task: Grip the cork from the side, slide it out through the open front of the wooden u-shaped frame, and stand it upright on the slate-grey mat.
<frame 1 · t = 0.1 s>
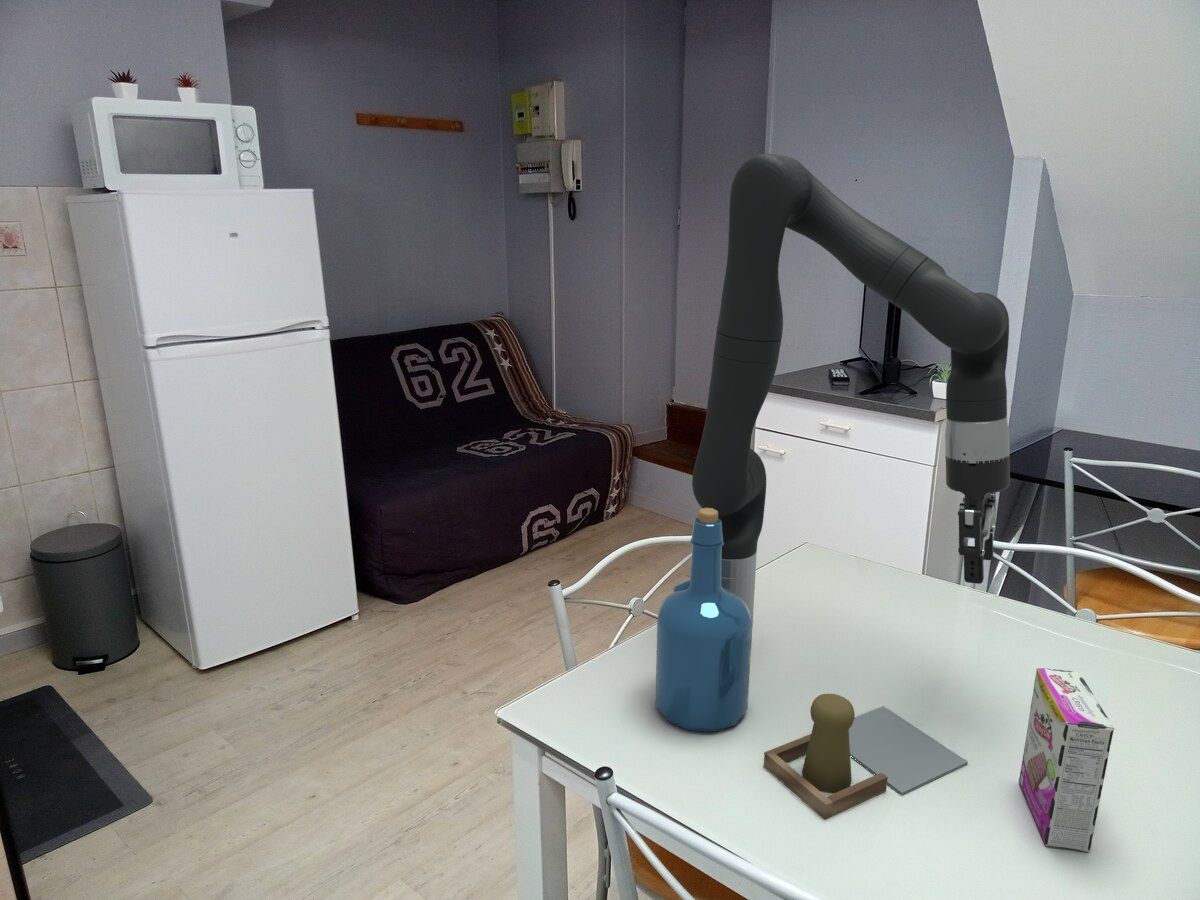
hand: (979, 570, 109), 22 cm above the table, tool pointing down, fingers open, 8 cm apart
cork: (826, 778, 103), on the table
candy bar box: (1050, 818, 97), on the table
wooden u-shaped frame: (826, 776, 103), on the table
slate mat: (891, 748, 109), on the table
wine bottle: (700, 708, 118), on the table
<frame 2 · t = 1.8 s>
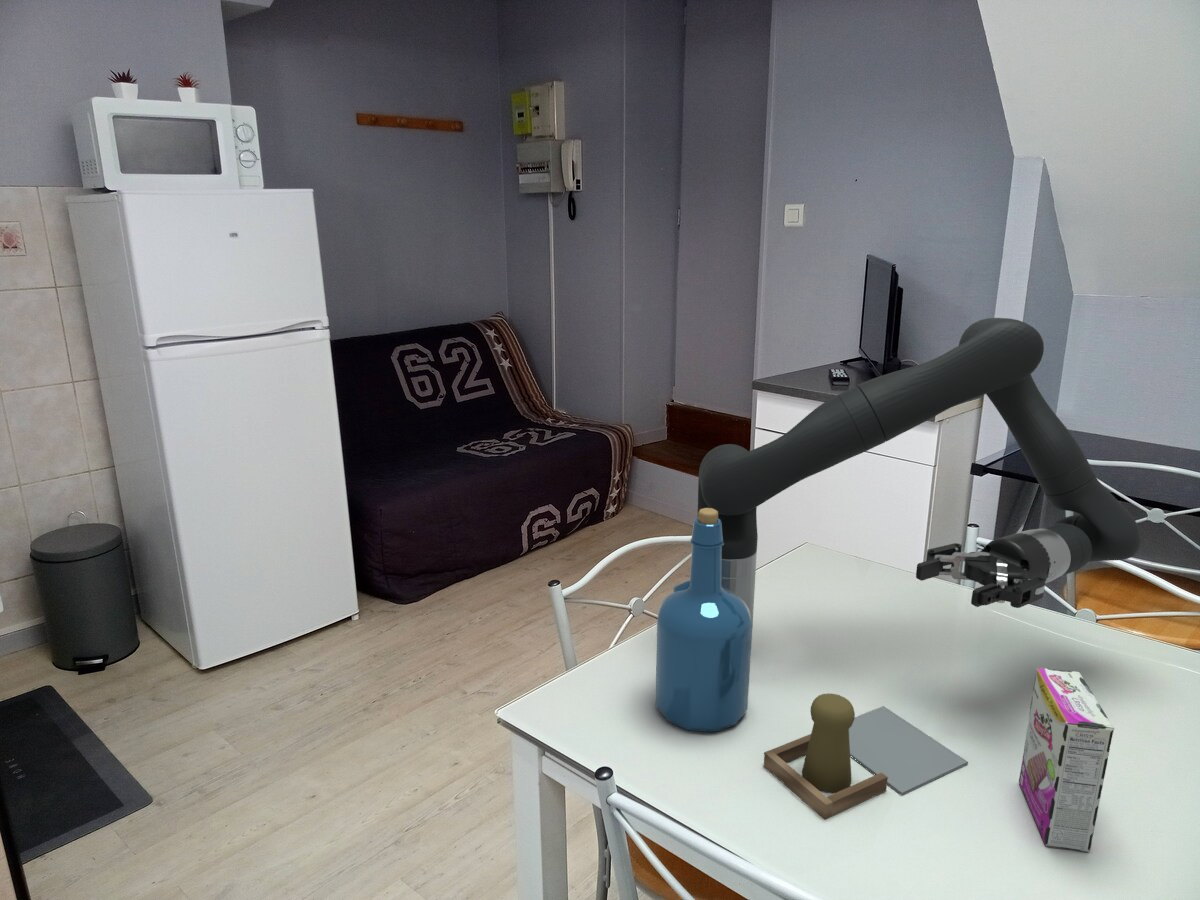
hand: (945, 585, 105), 22 cm above the table, tool horizontal, fingers open, 8 cm apart
nothing on the table moved.
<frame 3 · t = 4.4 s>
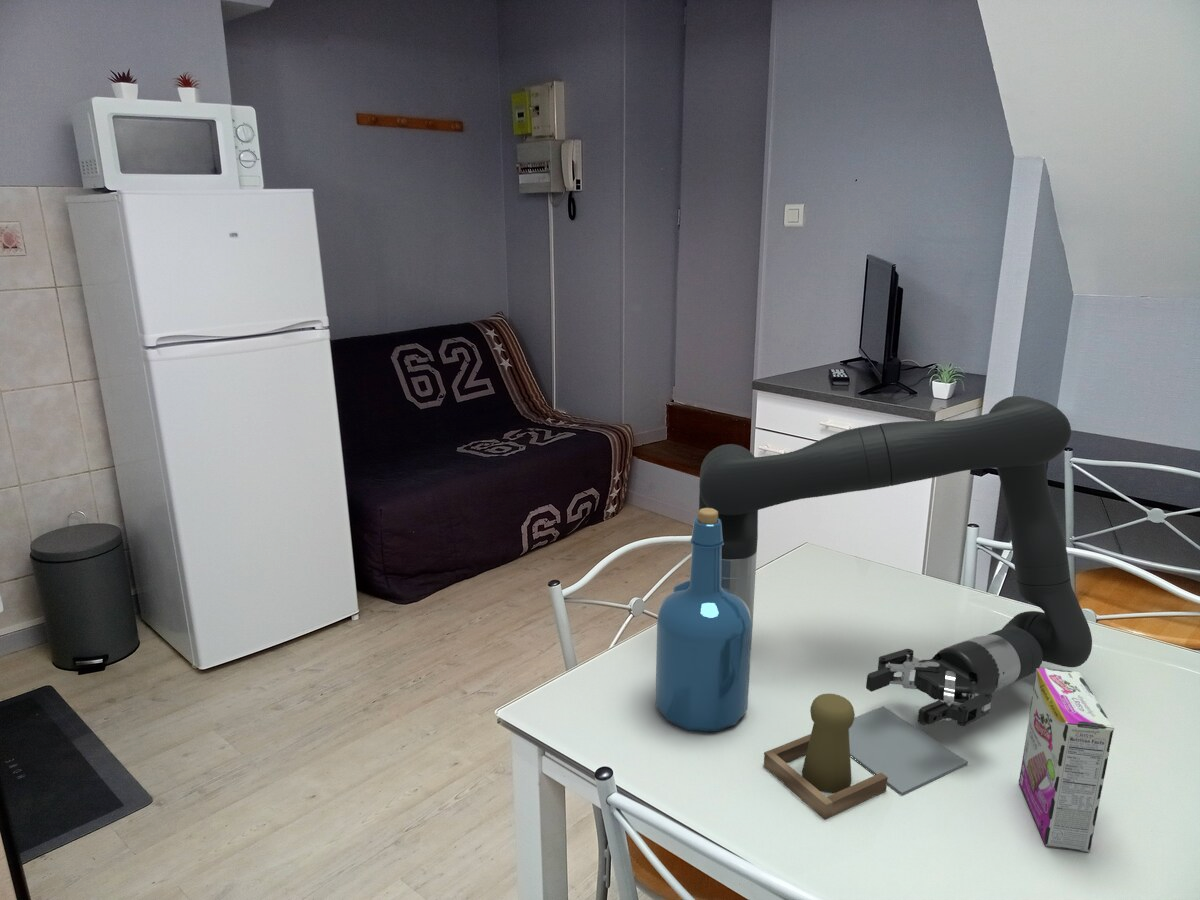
hand: (893, 700, 106), 8 cm above the table, tool horizontal, fingers open, 8 cm apart
nothing on the table moved.
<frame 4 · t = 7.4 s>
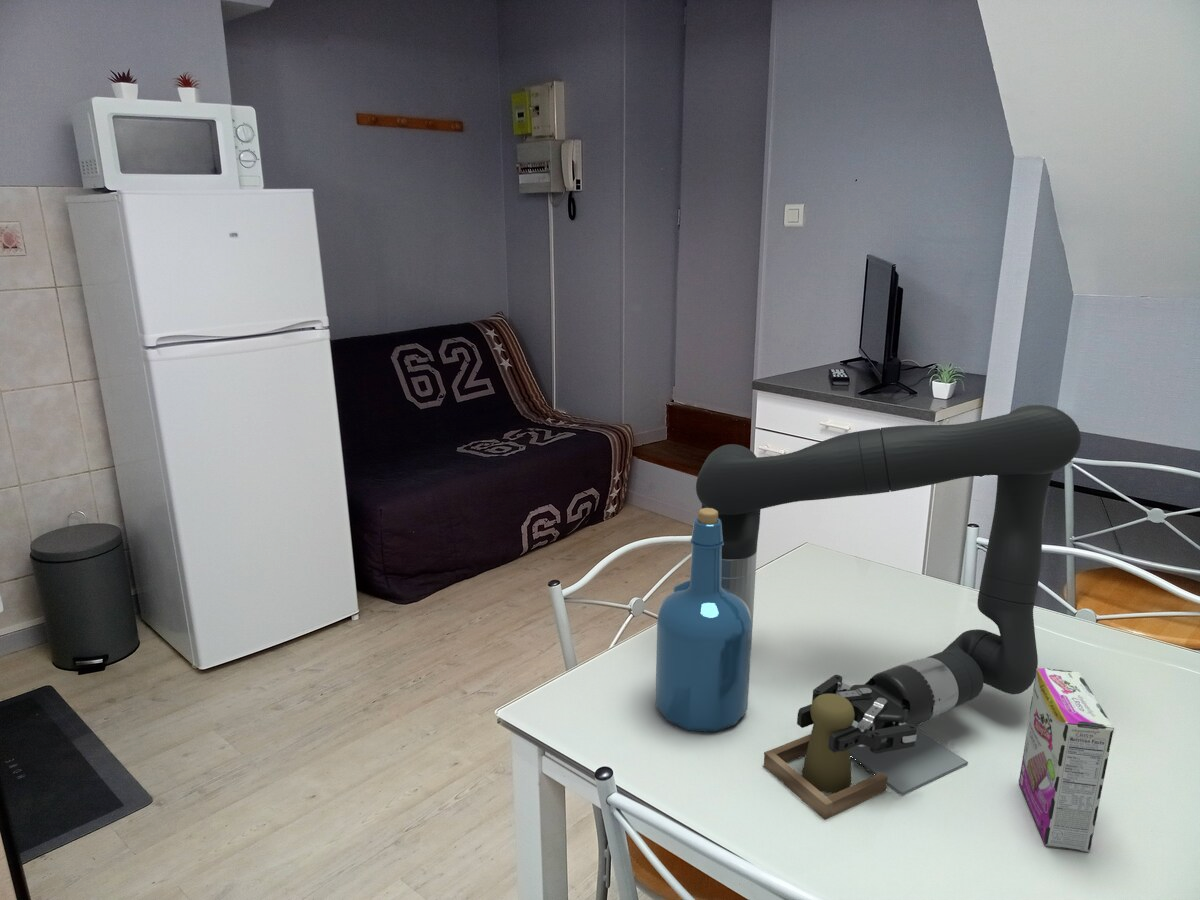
hand: (815, 731, 100), 7 cm above the table, tool horizontal, fingers closed on cork, 5 cm apart
cork: (826, 778, 103), on the table, touching gripper
everything else where it was.
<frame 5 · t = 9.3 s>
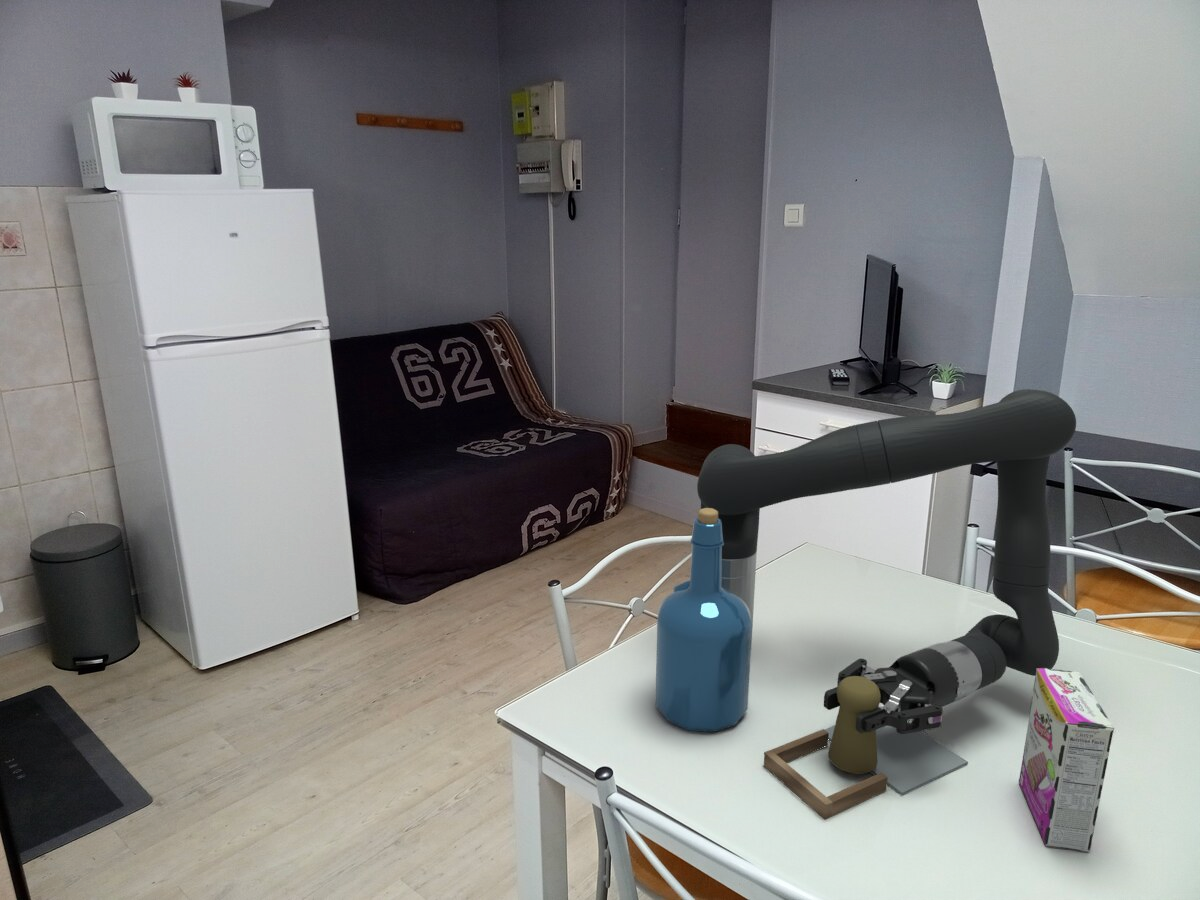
hand: (842, 713, 102), 9 cm above the table, tool horizontal, fingers closed on cork, 5 cm apart
cork: (852, 759, 105), point 1 cm above the table, touching gripper
everything else where it was.
when the fingers open (9 cm above the table, at t = 11.4 s): cork moves 3 cm, resting on slate mat.
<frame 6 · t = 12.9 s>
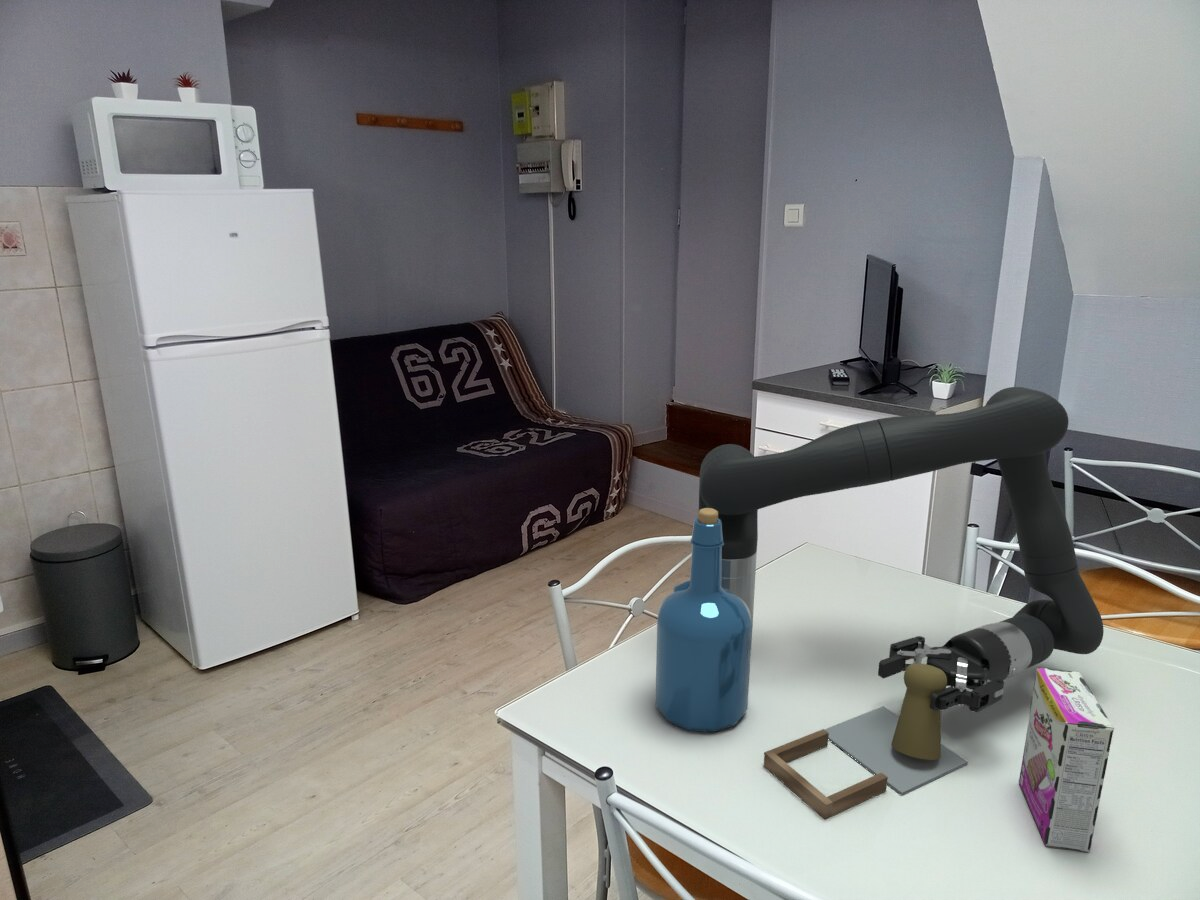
hand: (905, 686, 107), 9 cm above the table, tool horizontal, fingers open, 8 cm apart
cork: (915, 751, 106), point 1 cm above the table, touching slate mat
everything else where it was.
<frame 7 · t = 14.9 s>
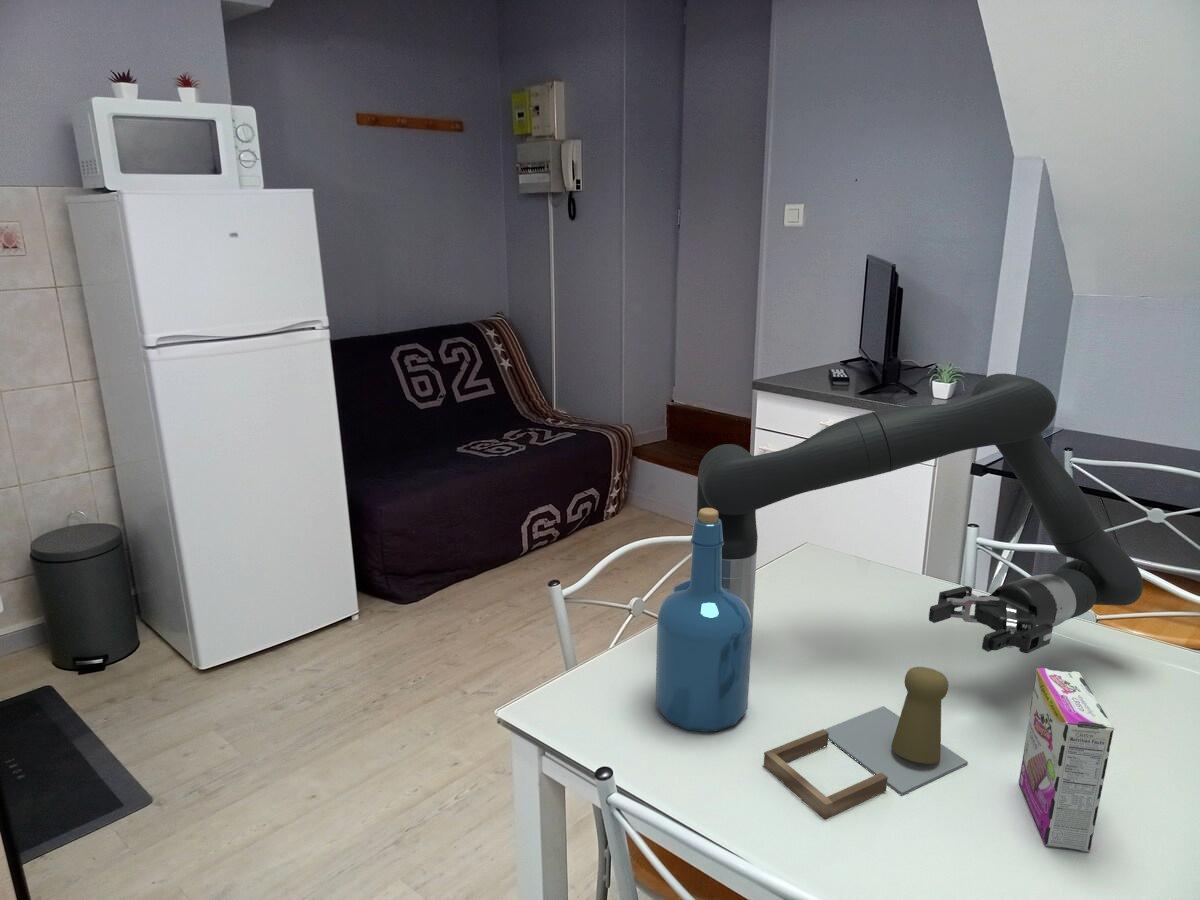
hand: (957, 629, 110), 14 cm above the table, tool horizontal, fingers open, 8 cm apart
nothing on the table moved.
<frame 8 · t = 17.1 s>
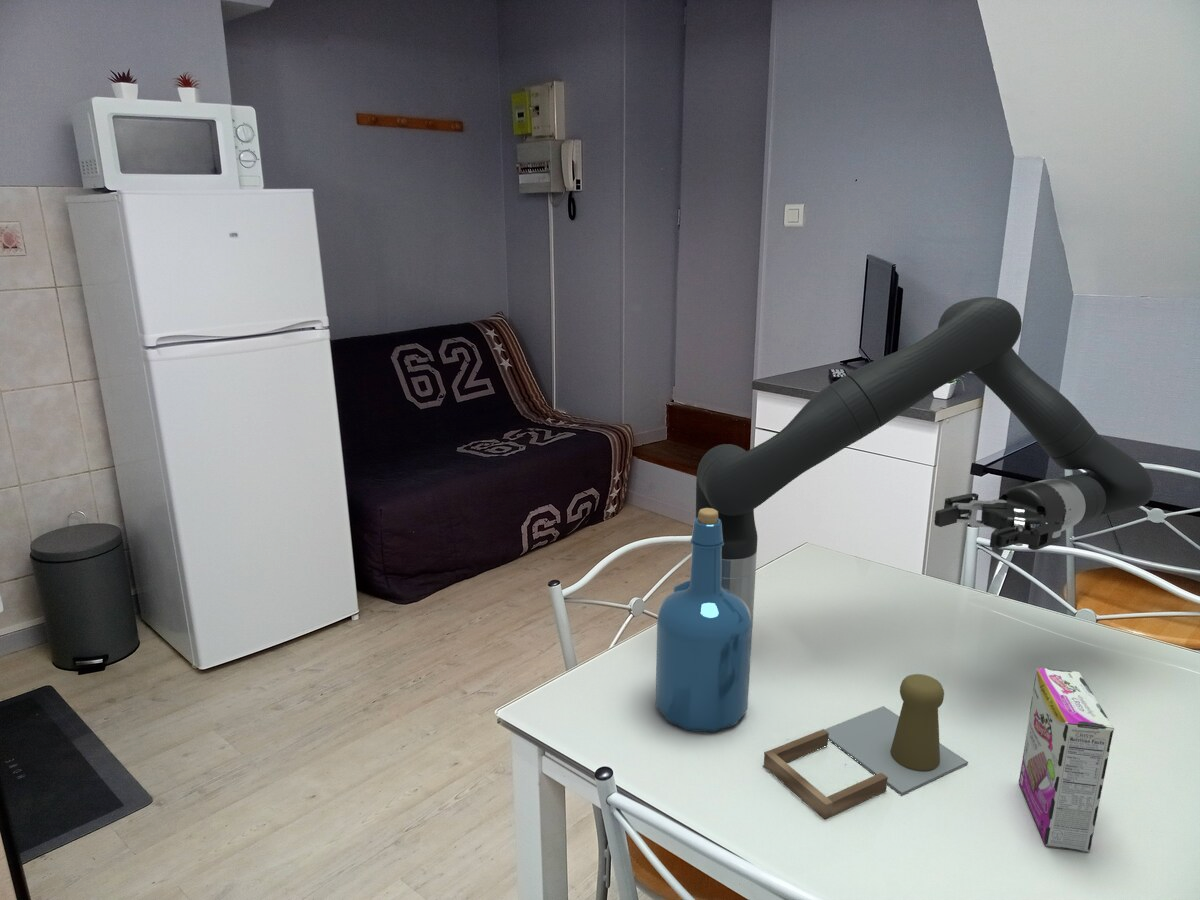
hand: (964, 529, 108), 28 cm above the table, tool horizontal, fingers open, 8 cm apart
at the end: cork inside the target area (3.0 cm from its centre), resting on slate mat; cork tilted 1°; the gripper is holding nothing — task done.
